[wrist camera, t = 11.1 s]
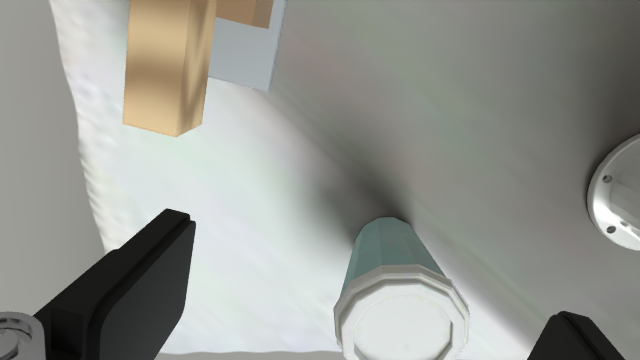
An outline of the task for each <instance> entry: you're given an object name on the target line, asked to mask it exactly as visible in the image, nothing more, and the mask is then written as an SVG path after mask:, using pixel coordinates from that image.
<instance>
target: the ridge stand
mask: <svg viewBox="0 0 640 360" xmlns="http://www.w3.org/2000/svg"><path fill="white" fill-rule="evenodd" d="M286 4H287V0H218V3H217V11H216V18H215V26H214V34H213V41H212V49H211V56H210V64H209V71H208V77H211V78H215V79H218V80H222V81H226V82H230V83H234V84H238V85H242V86H246V87H250V88H254V89H258V90H262V91H266V92H269V91H270V88H271V83H272V78H273V72H274V67H275V62H276V56H277V51H278V46H279V41H280V35H281V30H282V25H283V20H284V14H285V9H286Z"/></svg>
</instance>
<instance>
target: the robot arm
mask: <svg viewBox="0 0 640 360" xmlns="http://www.w3.org/2000/svg"><path fill="white" fill-rule="evenodd" d="M587 204H588V211H589V214H590V217H591V220H592V222H593V223H594V225H595V226H596V228H597V229H598V230H599V231H600V232H601V233H602V234H603V235H604V236H605V237H607V238H608V239H610V240H611V241H612V242H614V243H616V244H618V245H620V246H622V247H624V248H628V249H632V250H636V251H640V134H638V135H635V136H633V137H631V138H629V139H628V140H626V141H625V142H623V143H622V144H620V145H618V146H617V147H616V148H615V149H614V150H613V151H612V152H610V153H609V154H608V155H607V156H606V158H605V159H604V160H603V161H602V162H601V164H600V165H599V166H598V168H597V170H596V172H595V173H594V175H593V177H592V180H591V183H590V185H589V189H588V196H587ZM195 229H196V222H195V221H192V220H190V215H189V214H187V213H183V212H179V211H176V210H172V209H165V210H164V211H163V212H161V213H160V214H159V215H158V216H157V217H156V218H154V219H153V220H152V221H151V222H150V223H148V224H147V225H146V226H145V227H144V228H143V229H141V230H140V231H139V232H138V233H137V234H136V235H134V236H133V237H132V238H131V239H130V240H129V241H127V242H126V243H125V244H124V245H123V246H122V247H120V248H119V249H114V250H112V251H110V252H109V253H107V254H106V255H105V256H104V257H103V258H102V259H100V260H99V261H98V262H97V263H96V264H94V265H93V266H92V267H91V268H90V269H88V270H87V271H86V272H85V273H84V274H82V275H81V276H80V277H79V278H78V279H76V280H75V281H74V282H73V283H72V284H70V285H69V286H68V287H67V288H66V289H64V290H63V291H62V292H61V293H60V294H58V295H57V296H56V297H55V298H54V299H52V300H51V301H50V302H49V303H48V304H46V305H45V306H44V307H43V308H42V309H40V310H39V311H38V312H37V313H36V314H34V315H33V316H30V315H28V314H24V313H19V312H0V360H154V359H155V357H156V356H157V354H158V352H159V351H160V349H161V348H162V346H163V345H164V343H165V342H166V340H167V339H168V337H169V335H170V334H171V332H172V331H173V329H174V328H175V326H176V325H177V323H178V322H179V320H180V318H181V316H182V313H183V310H184V306H185V300H186V293H187V285H188V278H189V271H190V264H191V257H192V250H193V243H194V236H195ZM527 360H625V359H624V358H623V357H622V355H621V354H620V353H619V352H618V351H617V350H616V348H615V347H614V346H613V345H612V344H611V342H610V341H609V340H608V339H607V338H606V337H605V335H604V334H603V333H602V332H601V331H600V329H599V328H598V327H597V326H596V325H595V324H594V322H593V321H592V320H591V319H590V318H588V317H586V316H582V315H578V314H574V313H570V312H566V311H561V312H559V313H558V314H557V315H553V316H551V317H550V319H549V320H548V322H547V324H546V326H545V328H544V329H543V331H542V333H541V335H540V337H539V339H538V341H537V342H536V344H535V346H534V348H533V350H532V352H531V353H530V355H529V357H528V359H527Z"/></svg>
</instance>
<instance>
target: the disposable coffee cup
mask: <svg viewBox="0 0 640 360" xmlns="http://www.w3.org/2000/svg"><path fill="white" fill-rule="evenodd" d="M469 318H470V313H469V310H468V305H467V303H466V301H465V300H464V298H463V297H462V295H461V294H460V292H459V291H458V289H457V288H456V286H455V285H454V283H453V282H452V280H451V279H449V278H447V277H446V276H445V275H444V273H443V272H442V271H441V269H440V268H439V266H438V265H437V263H436V262H435V260H434V259H433V258H432V256H431V255H430V253H429V252H428V250H427V249H426V247H425V246H424V245H423V243H422V242H421V240H420V239H419V237H418V236H417V234H416V233H415V232H414V230H413V229H412V227H411V226H410V225H409V224H407V223H405V222H403V221H401V220H399V219H397V218H394V217H384V218H377V219H375V220H373V221H371V222H370V223H368V224H366V225H365V226H363V228H362V230H361V231H360V233H359V235H358V236H357V238H356V240H355V244H354V248H353V251H352V255H351V259H350V262H349V266H348V270H347V273H346V277H345V281H344V284H343V288H342V292H341V295H340V298H339V300H338V301H337V303H336V305H335V306H334V321H335V334H336V337H337V344H338V345H339V347H340V348H341V349H342V354H343V355H344V357H345V358H346V359H347V360H456V358H457V357H458V356H459V354H460V353H461V351H462V350H463V349H464V347H465V346H466V344H467V343H468V332H469Z"/></svg>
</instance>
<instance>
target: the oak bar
mask: <svg viewBox="0 0 640 360" xmlns="http://www.w3.org/2000/svg"><path fill="white" fill-rule="evenodd" d="M217 3H218V0H130V8H129V24H128V40H127V57H126V73H125V90H124V106H123V122H122V124H125V125H129V126H133V127H137V128H141V129H145V130H149V131H153V132H157V133H160V134H164V135H168V136H172V137H177V136H179V135H181V134H183V133H185V132H187V131H189V130H191V129H193V128H195V127H197V126H199V125H201V124H202V116H203V109H204V101H205V94H206V86H207V79H208V71H209V64H210V56H211V49H212V41H213V34H214V26H215V18H216V11H217Z"/></svg>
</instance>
